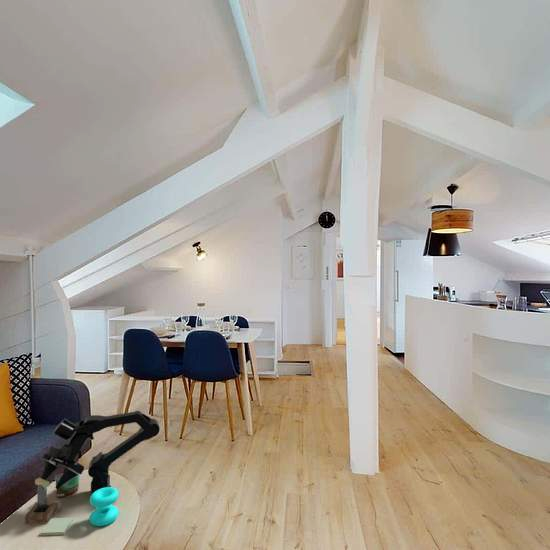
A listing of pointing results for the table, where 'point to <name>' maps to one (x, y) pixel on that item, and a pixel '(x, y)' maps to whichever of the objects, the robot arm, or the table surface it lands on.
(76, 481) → the food container
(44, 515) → the socket block
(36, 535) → the table surface
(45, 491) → the t key
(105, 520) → the donuts
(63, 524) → the mat
